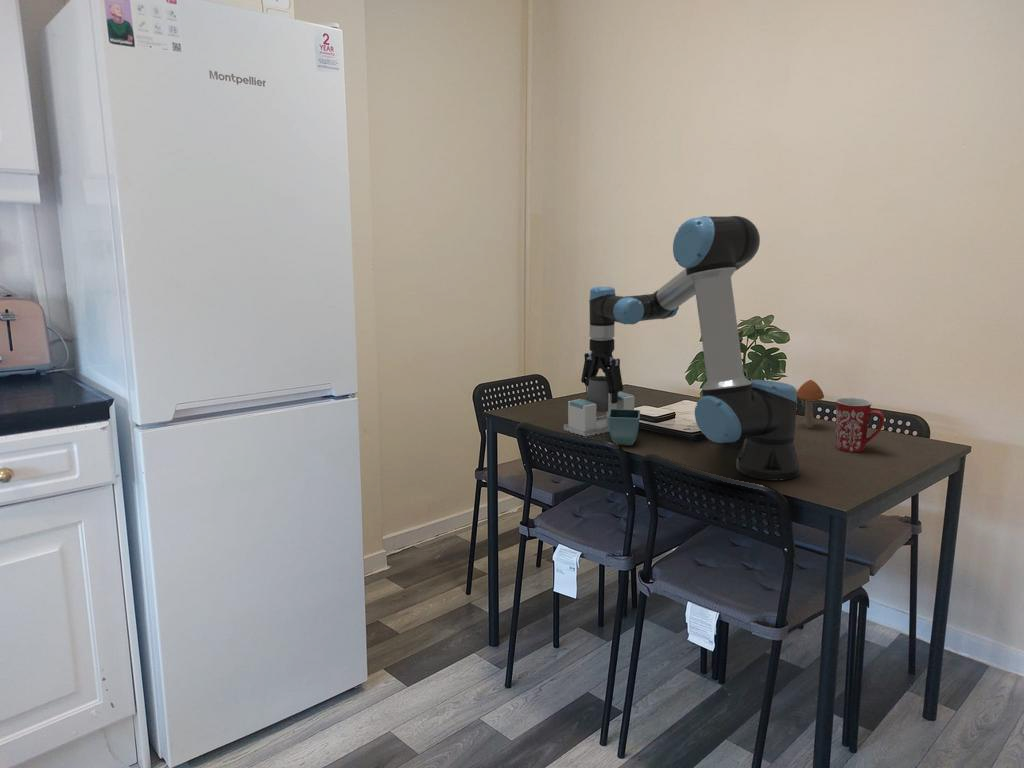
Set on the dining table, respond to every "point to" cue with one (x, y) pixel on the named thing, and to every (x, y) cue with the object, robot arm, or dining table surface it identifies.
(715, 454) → the dining table surface
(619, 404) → the block
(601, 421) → the grey flat slab
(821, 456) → the dining table surface
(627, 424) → the flower pot
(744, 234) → the robot arm
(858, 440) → the mug
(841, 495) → the dining table surface
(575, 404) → the block
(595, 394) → the cup
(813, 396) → the mushroom
